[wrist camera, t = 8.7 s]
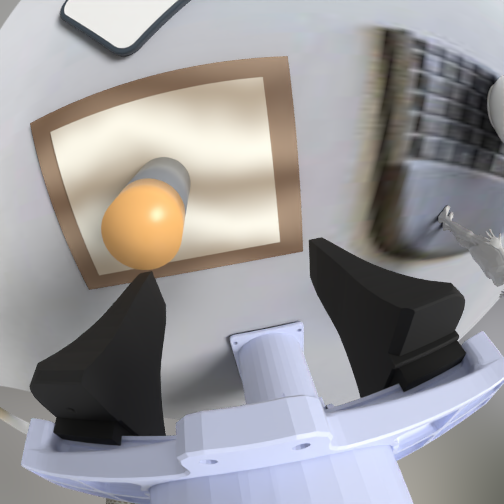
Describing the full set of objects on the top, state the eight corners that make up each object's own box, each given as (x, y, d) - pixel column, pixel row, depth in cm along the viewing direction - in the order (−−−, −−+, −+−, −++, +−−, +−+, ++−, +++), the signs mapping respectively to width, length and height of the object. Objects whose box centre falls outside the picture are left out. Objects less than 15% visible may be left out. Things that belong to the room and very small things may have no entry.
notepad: (300, 247, 25) (303, 253, 24) (90, 285, 24) (88, 291, 23) (285, 57, 16) (288, 55, 16) (33, 122, 15) (28, 123, 14)
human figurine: (464, 237, 28) (558, 328, 12) (446, 258, 29) (536, 357, 14) (431, 173, 23) (576, 274, 7) (409, 200, 24) (549, 320, 9)
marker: (195, 204, 20) (190, 263, 14) (144, 214, 20) (116, 275, 13) (185, 151, 18) (171, 185, 11) (131, 163, 18) (90, 204, 11)
